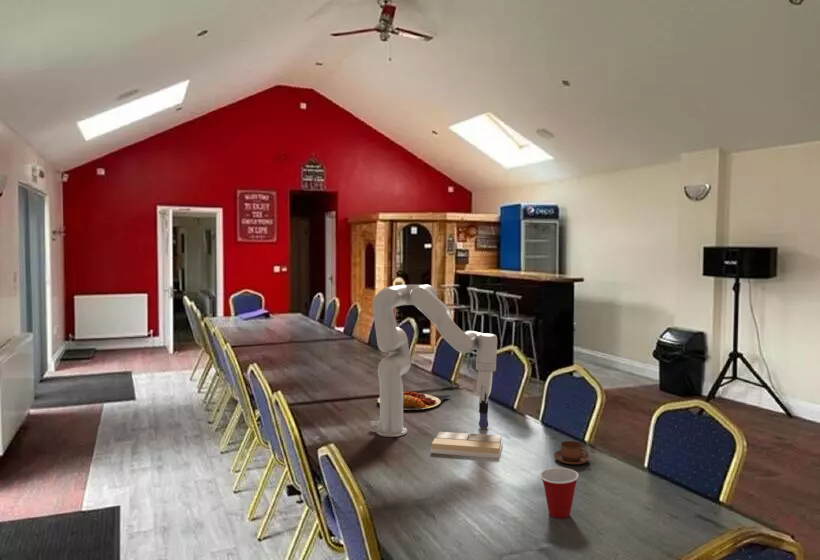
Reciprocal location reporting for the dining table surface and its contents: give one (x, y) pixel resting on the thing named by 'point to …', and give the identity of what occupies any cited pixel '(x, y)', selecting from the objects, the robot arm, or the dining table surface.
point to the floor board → (466, 448)
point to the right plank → (485, 438)
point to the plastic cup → (559, 490)
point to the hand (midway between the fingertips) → (483, 412)
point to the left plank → (453, 436)
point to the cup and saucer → (571, 453)
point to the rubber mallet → (483, 417)
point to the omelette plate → (420, 400)
